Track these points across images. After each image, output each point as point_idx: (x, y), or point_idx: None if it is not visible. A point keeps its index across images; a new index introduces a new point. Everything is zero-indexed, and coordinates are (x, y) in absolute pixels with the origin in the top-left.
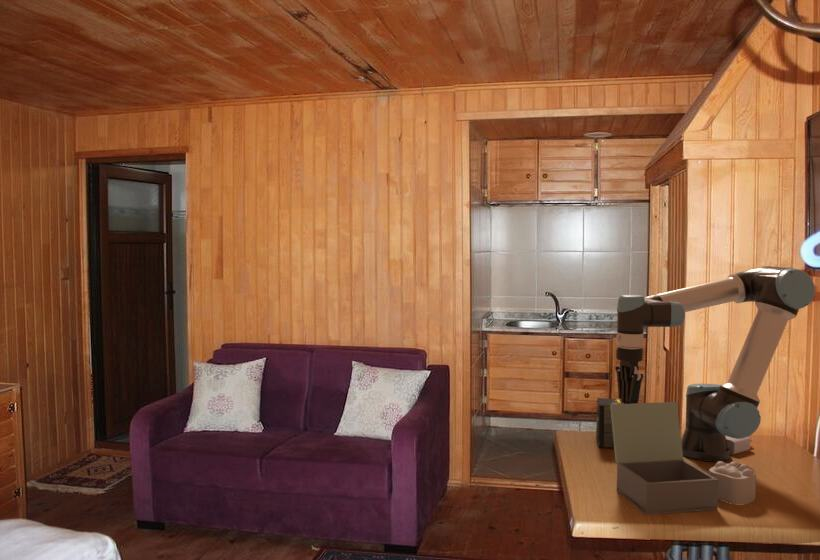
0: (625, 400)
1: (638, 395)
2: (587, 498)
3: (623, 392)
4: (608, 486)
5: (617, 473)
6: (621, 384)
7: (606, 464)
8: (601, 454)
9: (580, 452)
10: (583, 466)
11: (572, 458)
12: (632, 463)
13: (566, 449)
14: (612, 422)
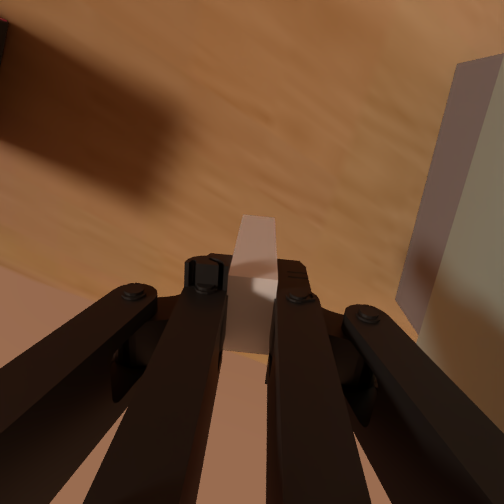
0: (221, 341)
1: (443, 383)
2: None
3: (208, 429)
4: (355, 301)
5: (417, 330)
6: (52, 470)
7: (177, 208)
8: (71, 168)
9: (47, 230)
10: (183, 287)
11: (106, 283)
12: None
13: (14, 260)
14: None
